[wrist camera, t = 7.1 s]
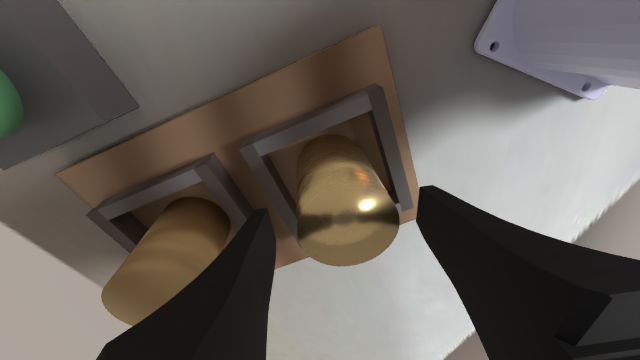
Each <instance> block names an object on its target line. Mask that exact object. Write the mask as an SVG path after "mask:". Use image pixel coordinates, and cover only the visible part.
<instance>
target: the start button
mask: <svg viewBox="0 0 640 360" xmlns="http://www.w3.org/2000/svg"><path fill="white" fill-rule="evenodd" d="M23 116H24V113H23V105H22V102H21V99H20V96H19V94H18V92H17V90H16V88H15V87H14V85H13V84H12V82H11V81H10V80H9V78H8V77H7V76H6V74H5V73H4V72H3V71H2V70H1V69H0V139H3V138H5V137H8V136H11V135H12V134H14V133H15V132H16V131H17V130H18V129H19V128H20V126H21V124H22V121H23Z"/></svg>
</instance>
